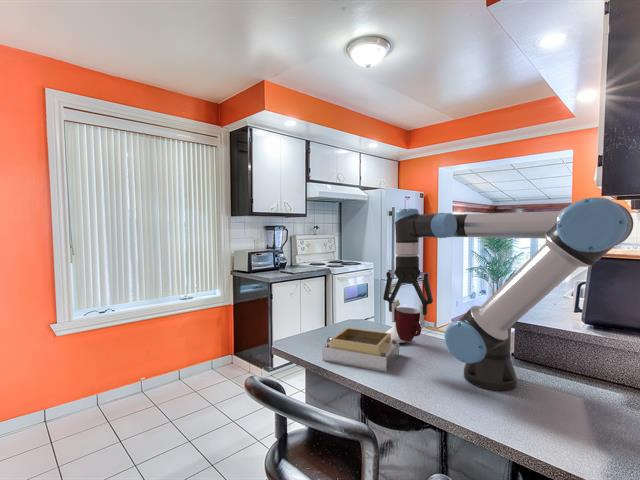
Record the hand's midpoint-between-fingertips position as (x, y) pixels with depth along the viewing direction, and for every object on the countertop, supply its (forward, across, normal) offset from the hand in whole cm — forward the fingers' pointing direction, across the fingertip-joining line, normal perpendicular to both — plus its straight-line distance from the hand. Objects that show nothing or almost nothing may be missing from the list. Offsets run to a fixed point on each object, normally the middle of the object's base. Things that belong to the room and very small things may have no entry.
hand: (407, 322), depth 114 cm
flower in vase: (+17, +12, -29) cm, 36 cm away
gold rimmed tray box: (+16, +21, -6) cm, 27 cm away
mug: (+6, 0, 0) cm, 6 cm away
